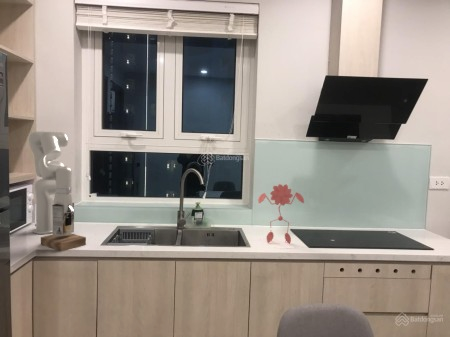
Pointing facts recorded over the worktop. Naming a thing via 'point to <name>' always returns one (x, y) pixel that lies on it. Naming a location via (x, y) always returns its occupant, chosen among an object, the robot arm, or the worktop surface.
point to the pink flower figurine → (282, 197)
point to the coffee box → (61, 221)
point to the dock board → (63, 241)
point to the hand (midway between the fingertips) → (63, 223)
